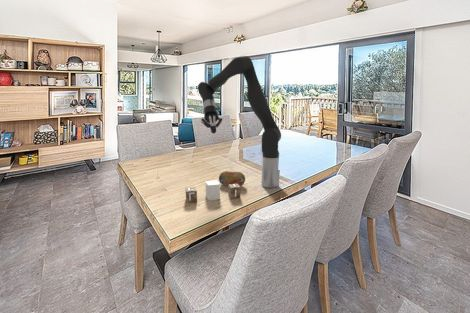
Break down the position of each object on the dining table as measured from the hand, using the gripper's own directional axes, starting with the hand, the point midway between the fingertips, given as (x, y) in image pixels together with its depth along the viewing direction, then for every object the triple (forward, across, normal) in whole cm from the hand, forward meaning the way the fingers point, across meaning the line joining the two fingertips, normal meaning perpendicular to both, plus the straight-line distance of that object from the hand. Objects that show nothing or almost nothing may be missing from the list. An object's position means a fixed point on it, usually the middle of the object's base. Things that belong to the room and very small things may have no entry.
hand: (213, 132), depth 151 cm
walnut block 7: (+37, -16, +5) cm, 41 cm away
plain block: (+36, -5, +6) cm, 37 cm away
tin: (+26, +9, +16) cm, 32 cm away
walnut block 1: (+37, +6, +5) cm, 38 cm away
